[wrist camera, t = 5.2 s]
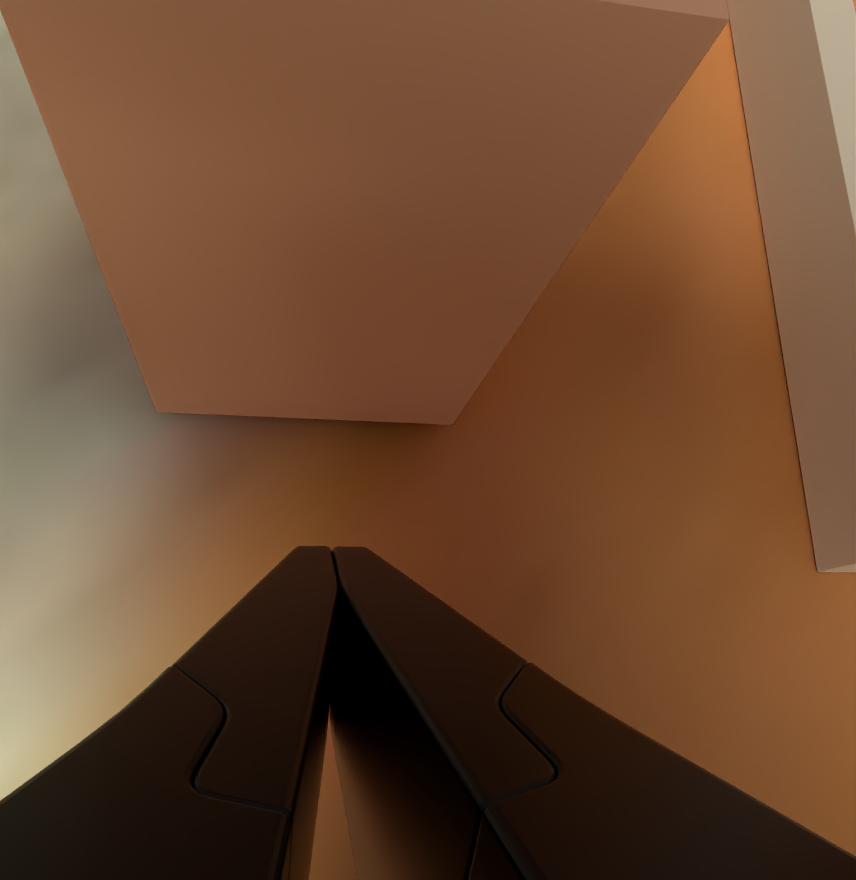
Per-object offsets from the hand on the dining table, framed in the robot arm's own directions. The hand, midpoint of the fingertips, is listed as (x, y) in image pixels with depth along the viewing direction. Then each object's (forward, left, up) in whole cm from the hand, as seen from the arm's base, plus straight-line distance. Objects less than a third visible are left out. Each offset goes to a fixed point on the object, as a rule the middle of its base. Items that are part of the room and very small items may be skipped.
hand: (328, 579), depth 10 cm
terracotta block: (+7, 0, -7) cm, 10 cm away
